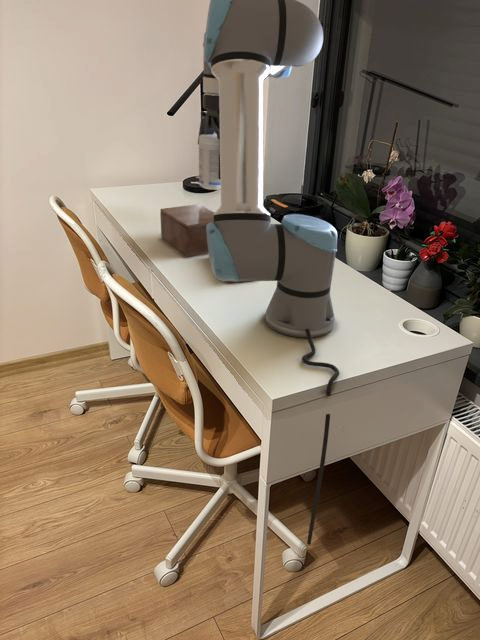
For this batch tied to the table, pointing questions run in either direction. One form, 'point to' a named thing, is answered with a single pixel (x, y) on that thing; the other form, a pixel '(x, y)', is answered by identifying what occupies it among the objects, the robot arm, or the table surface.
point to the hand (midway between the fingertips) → (214, 174)
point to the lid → (190, 215)
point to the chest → (184, 237)
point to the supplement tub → (209, 162)
